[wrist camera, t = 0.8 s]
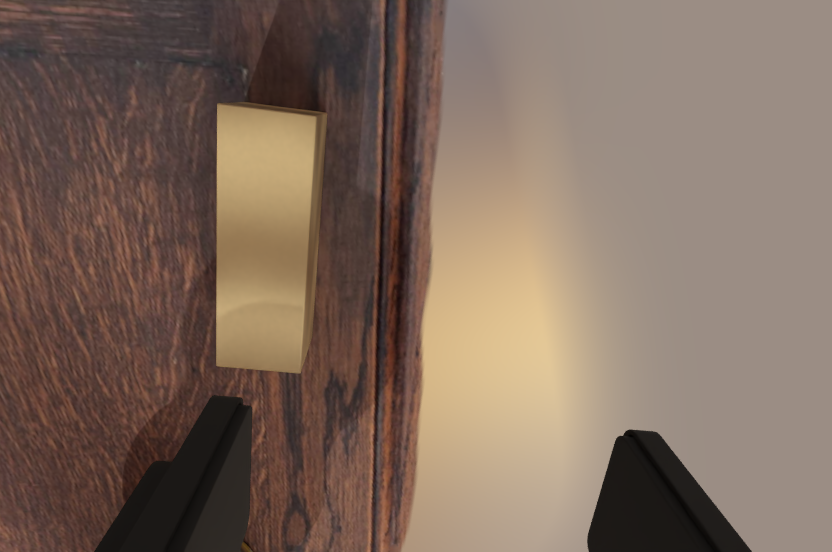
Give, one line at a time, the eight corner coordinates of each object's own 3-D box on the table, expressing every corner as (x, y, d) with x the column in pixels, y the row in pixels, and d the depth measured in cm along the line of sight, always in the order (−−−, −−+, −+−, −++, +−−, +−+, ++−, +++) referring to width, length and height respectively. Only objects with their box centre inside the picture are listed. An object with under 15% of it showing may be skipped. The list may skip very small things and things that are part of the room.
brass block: (242, 101, 25) (216, 102, 21) (327, 112, 25) (316, 116, 21) (238, 330, 29) (215, 366, 25) (312, 337, 29) (300, 374, 25)
